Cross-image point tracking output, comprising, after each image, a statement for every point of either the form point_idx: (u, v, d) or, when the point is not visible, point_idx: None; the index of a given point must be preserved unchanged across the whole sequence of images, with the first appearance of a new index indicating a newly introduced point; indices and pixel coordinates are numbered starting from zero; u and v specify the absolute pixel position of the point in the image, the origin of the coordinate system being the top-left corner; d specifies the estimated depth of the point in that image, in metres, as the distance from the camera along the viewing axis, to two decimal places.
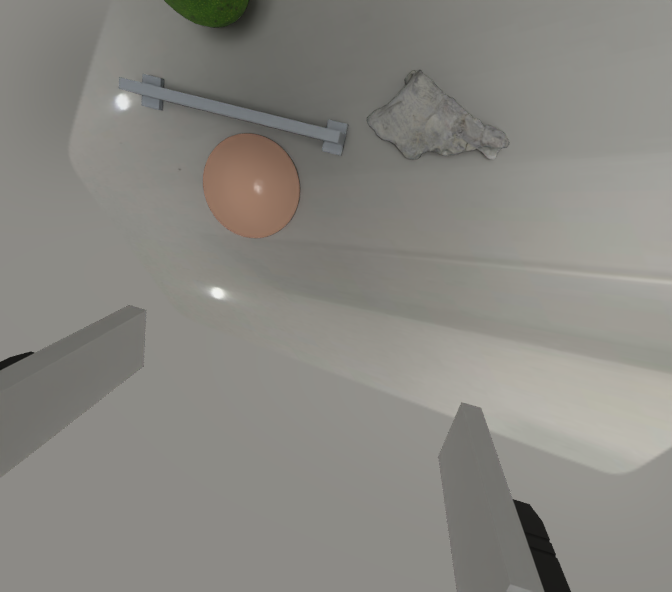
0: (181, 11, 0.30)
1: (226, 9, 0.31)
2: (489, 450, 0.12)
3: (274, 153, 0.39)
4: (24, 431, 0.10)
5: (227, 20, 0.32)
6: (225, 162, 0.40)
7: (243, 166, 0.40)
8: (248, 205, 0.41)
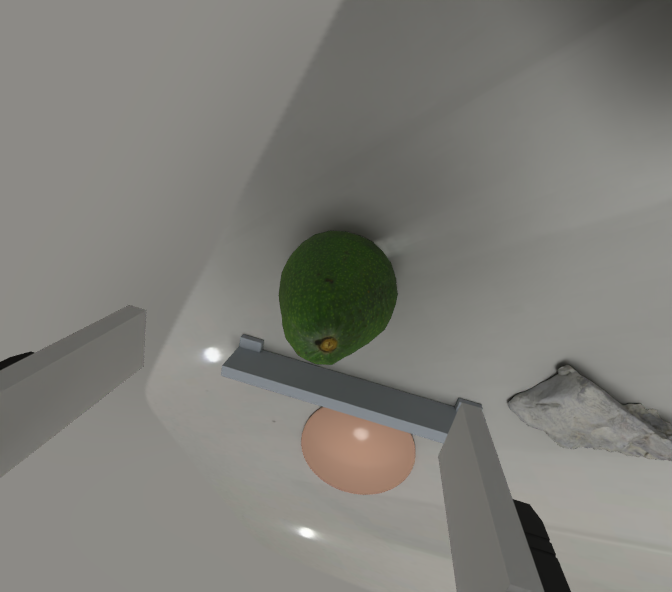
0: None
1: None
2: (489, 450, 0.12)
3: None
4: (24, 431, 0.10)
5: None
6: (329, 424, 0.35)
7: (351, 430, 0.35)
8: (352, 465, 0.36)
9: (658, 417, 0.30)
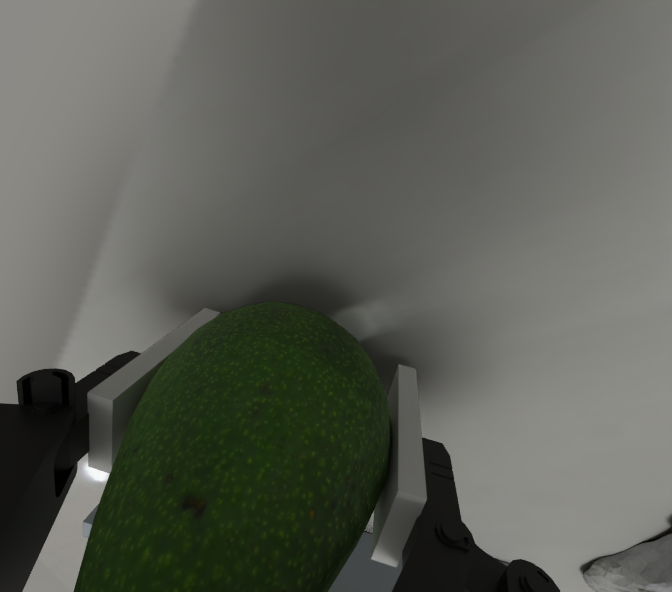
0: None
1: None
2: (412, 399, 0.13)
3: None
4: None
5: None
6: None
7: None
8: None
9: None
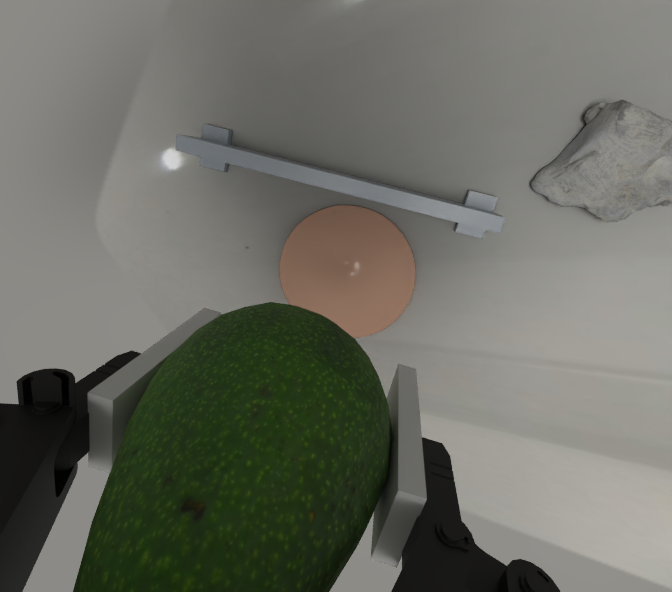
0: None
1: None
2: (412, 399, 0.13)
3: (385, 232, 0.28)
4: None
5: None
6: (312, 241, 0.29)
7: (339, 247, 0.29)
8: (341, 297, 0.30)
9: None
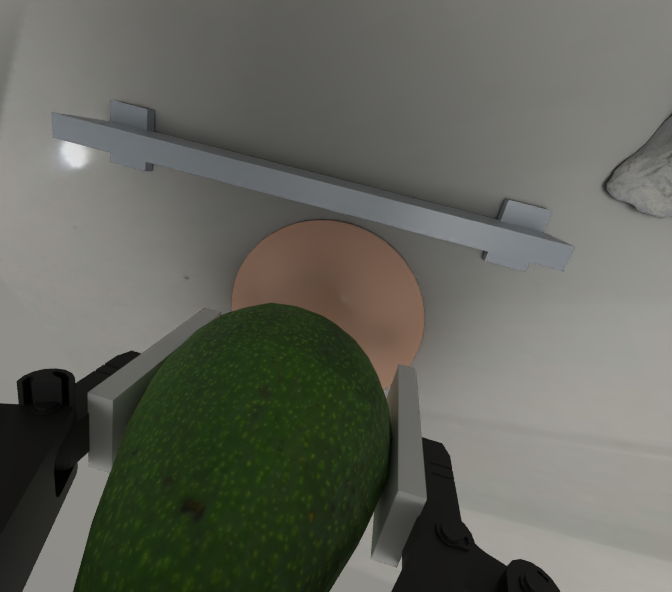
0: None
1: None
2: (412, 399, 0.13)
3: (380, 259, 0.19)
4: None
5: None
6: (276, 271, 0.20)
7: (314, 280, 0.20)
8: None
9: None
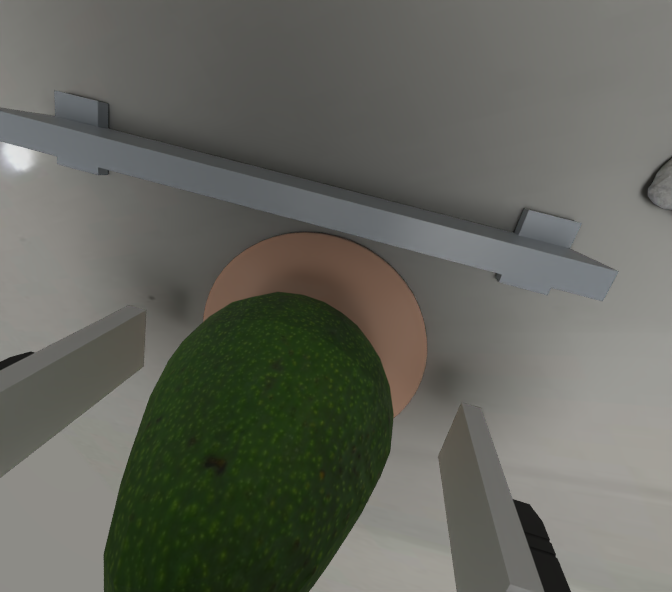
0: None
1: None
2: (489, 450, 0.12)
3: (375, 279, 0.16)
4: (24, 431, 0.10)
5: None
6: (253, 292, 0.17)
7: None
8: None
9: None
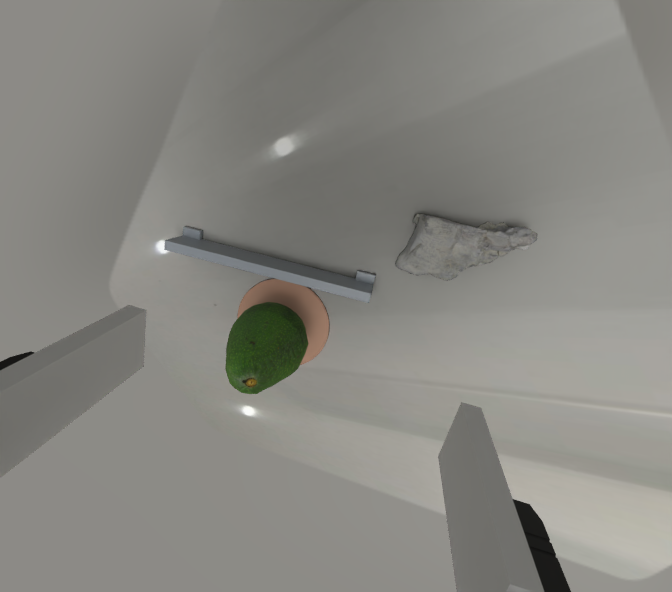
0: None
1: None
2: (489, 450, 0.12)
3: (306, 296, 0.42)
4: (24, 431, 0.10)
5: None
6: (259, 302, 0.43)
7: None
8: None
9: (507, 226, 0.37)
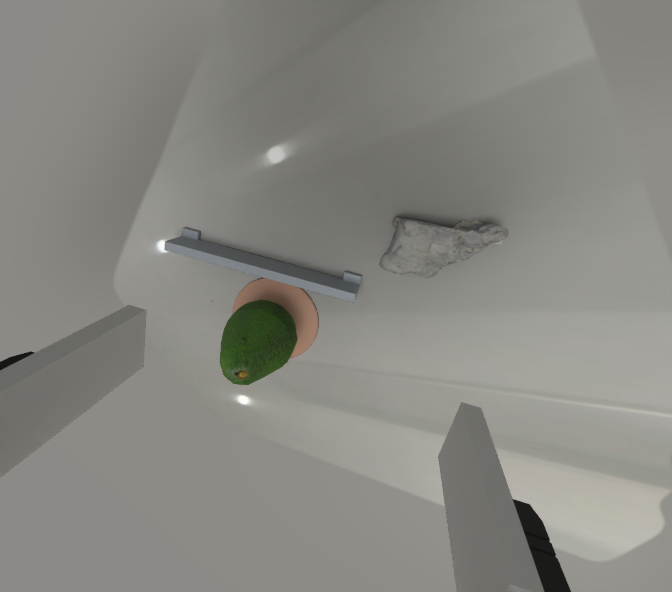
0: None
1: None
2: (489, 450, 0.12)
3: (297, 294, 0.44)
4: (24, 431, 0.10)
5: None
6: (253, 299, 0.46)
7: None
8: None
9: (482, 223, 0.39)
